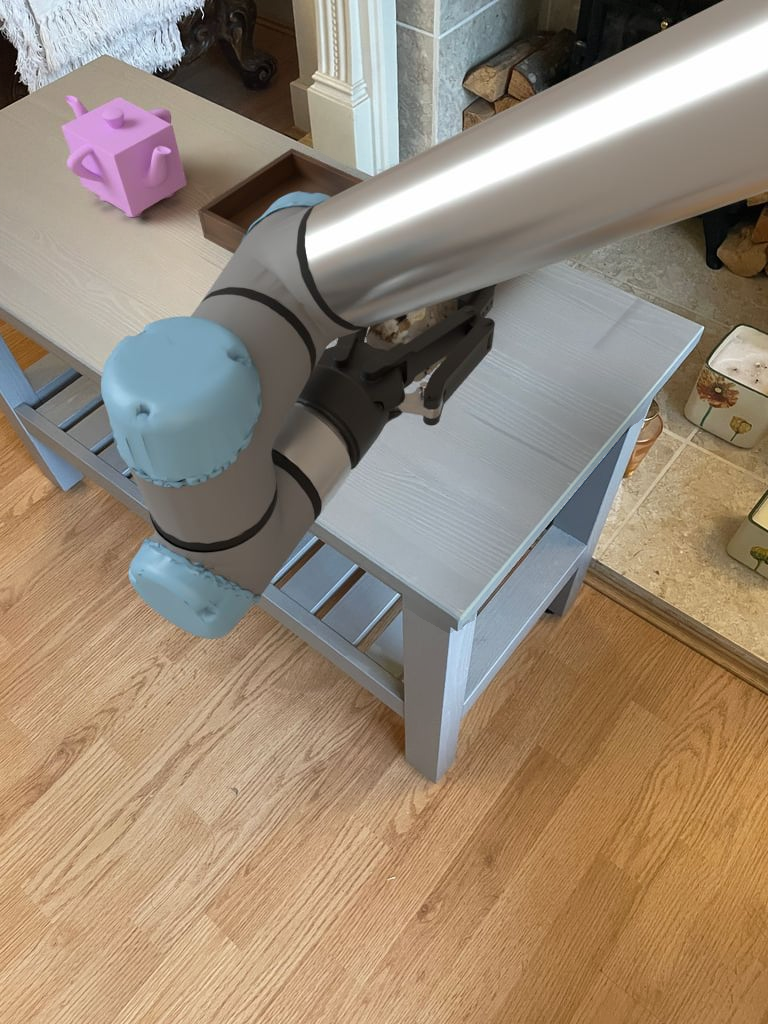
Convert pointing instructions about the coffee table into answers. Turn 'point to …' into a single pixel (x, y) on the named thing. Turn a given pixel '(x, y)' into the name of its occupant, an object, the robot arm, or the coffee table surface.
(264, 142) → the coffee table surface
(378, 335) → the rock
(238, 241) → the divided wooden tray
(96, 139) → the teapot
